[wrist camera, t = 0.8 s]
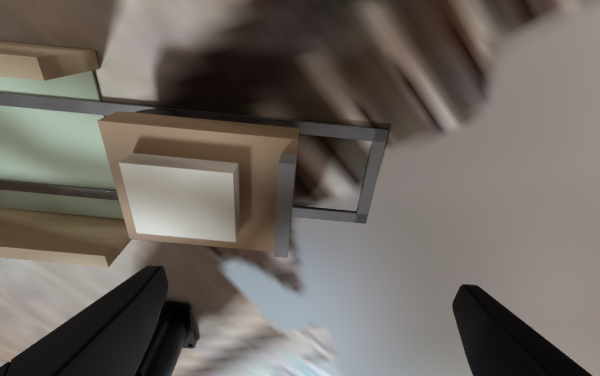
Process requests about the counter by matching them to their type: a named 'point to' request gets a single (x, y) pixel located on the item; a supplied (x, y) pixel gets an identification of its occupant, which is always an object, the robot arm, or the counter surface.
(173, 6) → the counter surface
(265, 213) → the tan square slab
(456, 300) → the robot arm
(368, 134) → the rails
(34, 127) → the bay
